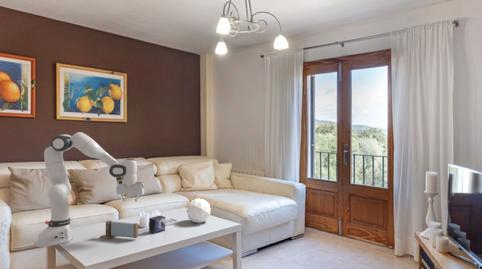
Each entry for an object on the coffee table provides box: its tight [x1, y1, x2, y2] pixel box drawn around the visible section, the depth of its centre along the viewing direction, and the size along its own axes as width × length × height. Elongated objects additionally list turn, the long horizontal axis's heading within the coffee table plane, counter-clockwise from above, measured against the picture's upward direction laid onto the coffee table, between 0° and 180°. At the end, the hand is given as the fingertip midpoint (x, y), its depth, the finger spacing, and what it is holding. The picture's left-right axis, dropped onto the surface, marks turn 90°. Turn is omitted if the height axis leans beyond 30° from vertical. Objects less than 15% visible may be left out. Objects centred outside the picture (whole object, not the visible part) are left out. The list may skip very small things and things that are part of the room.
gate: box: [111, 220, 139, 239], centre depth 229 cm, size 20×2×10 cm, turn 76°
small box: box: [148, 214, 166, 235], centre depth 246 cm, size 11×6×10 cm, turn 143°
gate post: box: [99, 220, 118, 241], centre depth 232 cm, size 8×8×11 cm
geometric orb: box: [186, 198, 212, 224], centre depth 270 cm, size 19×20×20 cm
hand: (130, 201), depth 234 cm, fingers open, 8 cm apart
